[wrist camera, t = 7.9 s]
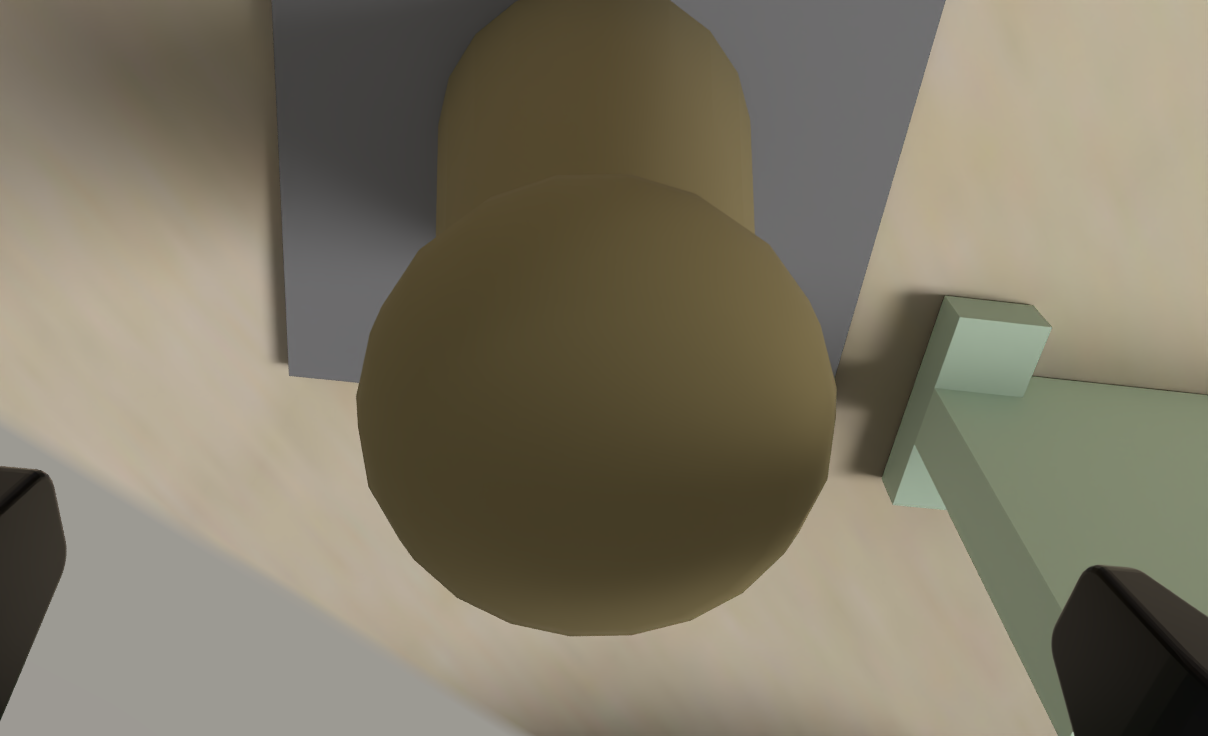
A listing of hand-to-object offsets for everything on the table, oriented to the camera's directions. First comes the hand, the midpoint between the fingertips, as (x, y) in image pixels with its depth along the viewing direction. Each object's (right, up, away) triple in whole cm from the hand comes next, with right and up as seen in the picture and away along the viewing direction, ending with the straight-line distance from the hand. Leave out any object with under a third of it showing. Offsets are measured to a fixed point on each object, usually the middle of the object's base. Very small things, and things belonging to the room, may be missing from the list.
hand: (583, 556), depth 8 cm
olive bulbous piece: (0, +6, +10) cm, 12 cm away
